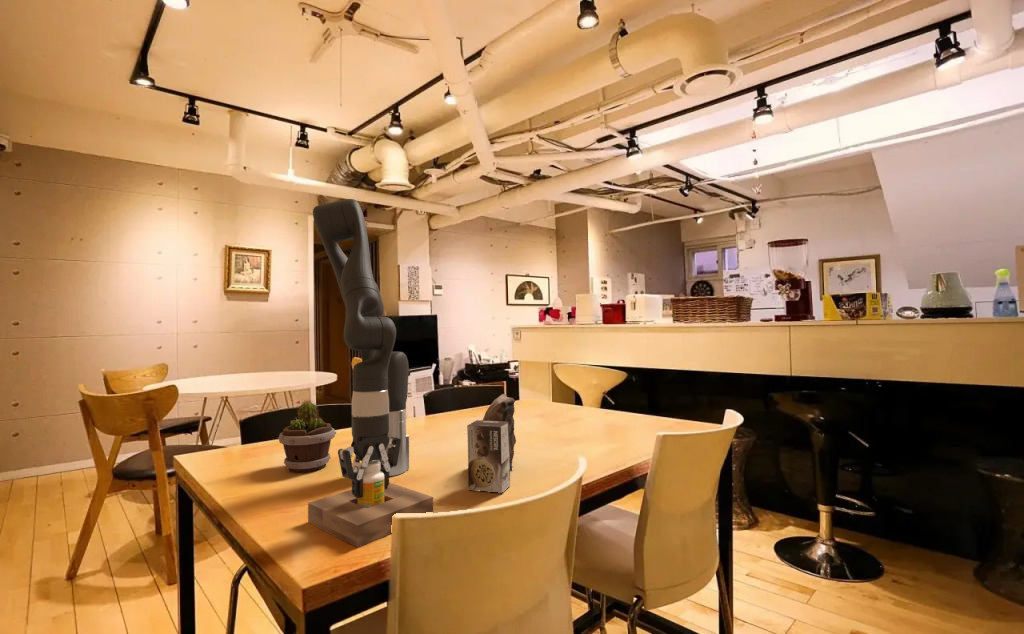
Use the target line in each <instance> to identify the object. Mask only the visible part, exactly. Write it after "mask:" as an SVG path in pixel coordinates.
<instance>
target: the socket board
mask: <svg viewBox="0 0 1024 634" xmlns="http://www.w3.org/2000/svg"><path fill="white" fill-rule="evenodd" d="M357 503H358V498H357V497H355V496H354V495H353V494H352V488H351V489H348V490H344V491H341V492H339V493H336V494H335V493H334V494H332V495H329V496H326V497H322V498H319V499H316V500H313V501H309V502H308V503H307V522H308V523H309V524H310V525H313V526H315V527H317V528H318V529H321V530H323V531H324V532H326V533H328V534H330V535H333V537H336V538H338V539H340V540H342V541H344V542H346V543H347V544H349V545H352V546H354V547H355V548H361V547H363V546H365V545H367V544H369V543H372V542H375V541H377V540H379V539H381V538H384V537H388V536H389V535H392V533H391V525H392V516H393V515H394V514H396V513H426V512H433V513H434V497H433V496H432V495H428V494H425V493H422V492H420V491H416V490H413V489H410V488H408V487H404V486H401V485H398V484H395V483H392V482H389V485H388V488H387V489H386V490H384V502H383V503H380V504H378V505H375V506H372V507H369V508H365V507H363V506H360V505H358V504H357Z"/></svg>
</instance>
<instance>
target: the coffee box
mask: <svg viewBox="0 0 1024 634" xmlns="http://www.w3.org/2000/svg"><path fill="white" fill-rule="evenodd" d="M466 429H467V433H466V435H467V469H468V470H467V474H468V476H467V477H468V478H467V481H468V485H467V486H468V487H467V488H468V489H470V490H480V491H489V492H488V493H490V492H498V493H497V494H500V493H502V492H504V491H505V490H506V489H507V488H508V487H509V486H510V487H511V472H510V450H509V422H505V421H484V420H483V419H482V420H479V419H477V420H474V421H473V422H471V423H469V424H467V427H466ZM510 487H509V488H510ZM509 488H508V489H509ZM508 489H507V490H508ZM507 490H506V491H507ZM480 491H479V492H480ZM506 491H505V492H506ZM505 492H504V493H505ZM502 494H503V493H502Z"/></svg>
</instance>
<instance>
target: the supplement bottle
mask: <svg viewBox="0 0 1024 634" xmlns="http://www.w3.org/2000/svg"><path fill="white" fill-rule="evenodd" d="M380 469H381V462H380V461H376V460H373V461H371V462H368V465H367V468H366V469H365V470H364V472H363V475H362V478H361V479H363V497H361V498H358V503H357V504H358V505H360V506H363V507H365V508H369V507H372V506H375V505H378V504H380V503H383V502H384V473H383V472H381V471H380Z"/></svg>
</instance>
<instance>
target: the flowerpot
mask: <svg viewBox="0 0 1024 634" xmlns="http://www.w3.org/2000/svg"><path fill="white" fill-rule="evenodd" d="M317 408H318V405H316V403H314V402H313V401H311V399H306V400H305V399H302V401H301V403H300V405H298V406H297V409H296V410H297V414H298V415H297V416H296V417H295V418H294V420H290V425H288V426H286V427H285V428H283V430H282V432H280V433H279V436H278V437H277V439H278V442H279V443H280V444H282V445H283V449H284V453H285V458H284V460H283V464H284V465H285V467H286V468H287V469H288V471H290V472H291V473H307V472H314V471H316V470H317V469H318V470H321V469H323V468H325V467H326V466H327V464H328V463H329V461H330V459H332V458H331V454H330V453H329V451H330V448H331V447H330V446H331V441H332V440H333V439H334V438H335V437H336V434H337V432H336V431H335V428H333V427H332V425H331V423H327V422H324V420H323V419H324V417H323V418H322V417H320V416H319V411H320V410H319V409H317ZM297 418H298V419H297ZM295 419H296V420H295Z"/></svg>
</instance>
